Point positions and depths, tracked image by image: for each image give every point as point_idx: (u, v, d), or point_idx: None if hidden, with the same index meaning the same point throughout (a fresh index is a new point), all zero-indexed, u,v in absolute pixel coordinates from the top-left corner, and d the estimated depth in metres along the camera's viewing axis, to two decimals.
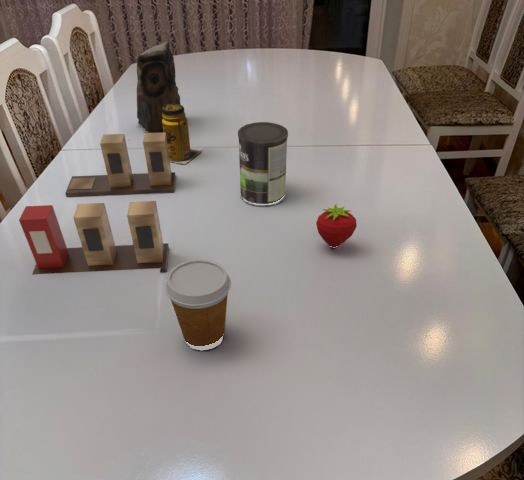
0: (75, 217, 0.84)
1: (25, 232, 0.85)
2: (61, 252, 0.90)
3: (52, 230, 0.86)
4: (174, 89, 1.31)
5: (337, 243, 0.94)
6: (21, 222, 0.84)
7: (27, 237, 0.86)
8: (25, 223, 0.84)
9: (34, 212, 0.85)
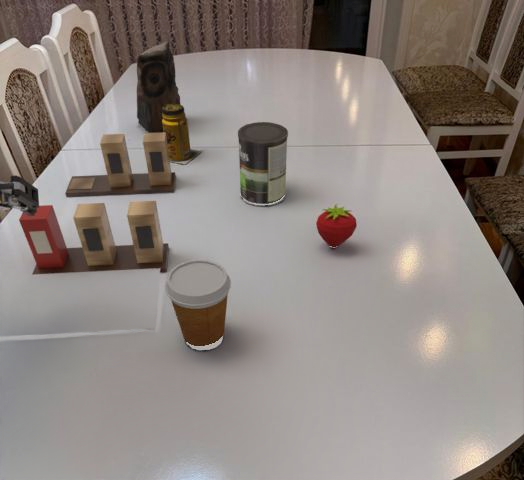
0: (75, 217, 0.84)
1: (25, 232, 0.85)
2: (61, 252, 0.90)
3: (52, 230, 0.86)
4: (174, 89, 1.31)
5: (337, 243, 0.94)
6: (21, 222, 0.84)
7: (27, 237, 0.86)
8: (25, 223, 0.84)
9: None
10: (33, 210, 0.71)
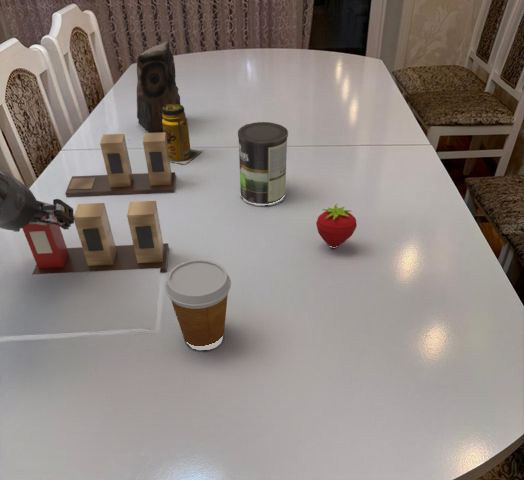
0: (75, 217, 0.84)
1: (25, 232, 0.85)
2: (61, 252, 0.90)
3: (52, 230, 0.86)
4: (174, 89, 1.31)
5: (337, 243, 0.94)
6: None
7: (27, 237, 0.86)
8: None
9: None
10: (68, 225, 0.86)
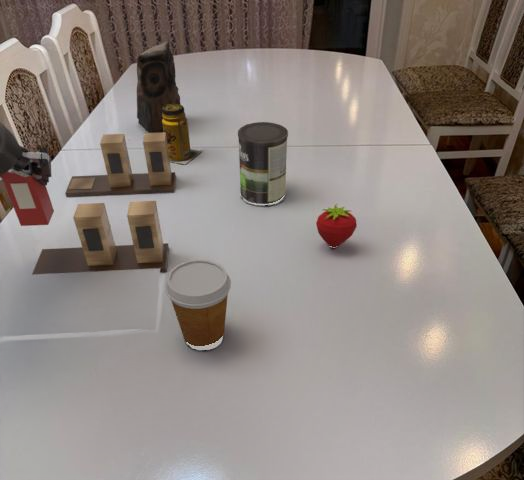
0: (75, 217, 0.84)
1: (6, 184, 0.79)
2: (45, 208, 0.84)
3: (36, 183, 0.80)
4: (174, 89, 1.31)
5: (337, 243, 0.94)
6: None
7: (8, 190, 0.80)
8: (5, 174, 0.78)
9: None
10: (46, 180, 0.82)
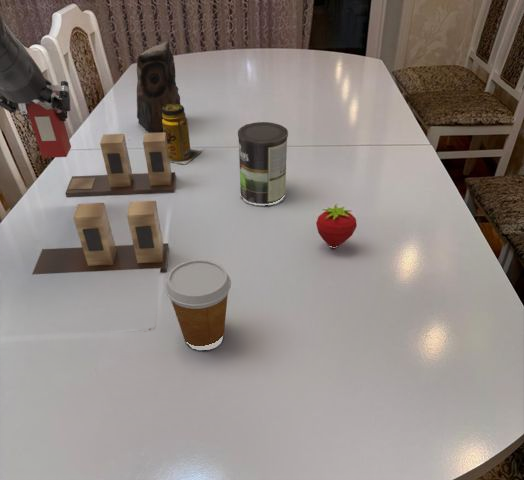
0: (75, 217, 0.84)
1: (30, 117, 0.91)
2: (64, 141, 0.95)
3: (56, 117, 0.92)
4: (174, 89, 1.31)
5: (337, 243, 0.94)
6: (27, 106, 0.89)
7: (32, 123, 0.91)
8: (30, 107, 0.89)
9: None
10: (65, 115, 0.93)
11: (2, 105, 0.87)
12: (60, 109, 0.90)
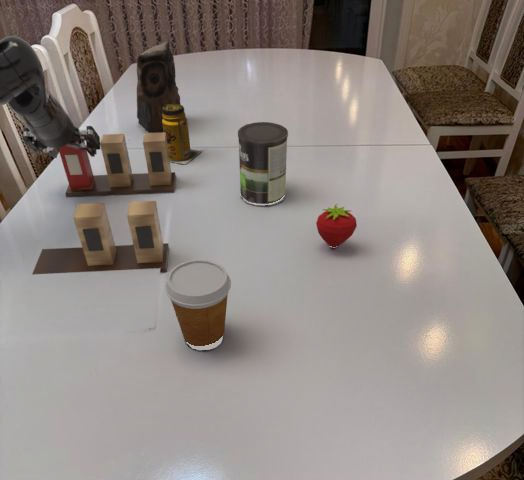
0: (75, 217, 0.84)
1: (61, 155, 1.06)
2: (89, 174, 1.11)
3: (83, 155, 1.07)
4: (174, 89, 1.31)
5: (337, 243, 0.94)
6: None
7: (63, 160, 1.07)
8: (61, 147, 1.05)
9: None
10: (94, 152, 1.08)
11: (31, 146, 1.02)
12: (91, 148, 1.05)
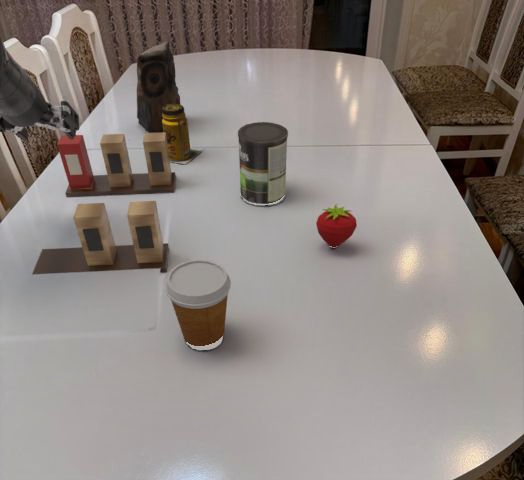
0: (75, 217, 0.84)
1: (61, 155, 1.06)
2: (89, 174, 1.11)
3: (83, 155, 1.07)
4: (174, 89, 1.31)
5: (337, 243, 0.94)
6: (58, 146, 1.05)
7: (63, 160, 1.07)
8: (61, 147, 1.05)
9: (68, 139, 1.06)
10: (73, 134, 0.93)
11: None
12: (69, 128, 0.90)
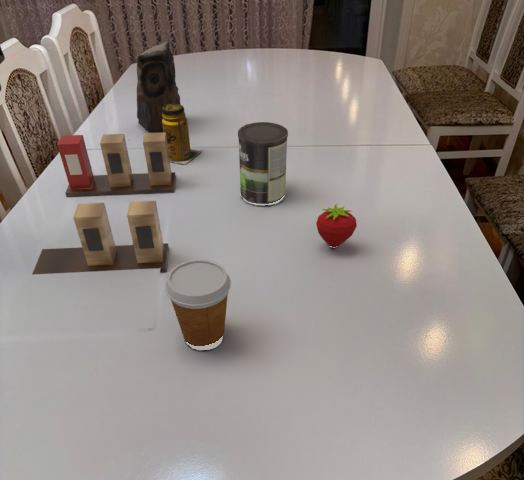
0: (75, 217, 0.84)
1: (61, 155, 1.06)
2: (89, 174, 1.11)
3: (83, 155, 1.07)
4: (174, 89, 1.31)
5: (337, 243, 0.94)
6: (58, 146, 1.05)
7: (63, 160, 1.07)
8: (61, 147, 1.05)
9: (68, 139, 1.06)
10: None
11: None
12: None
